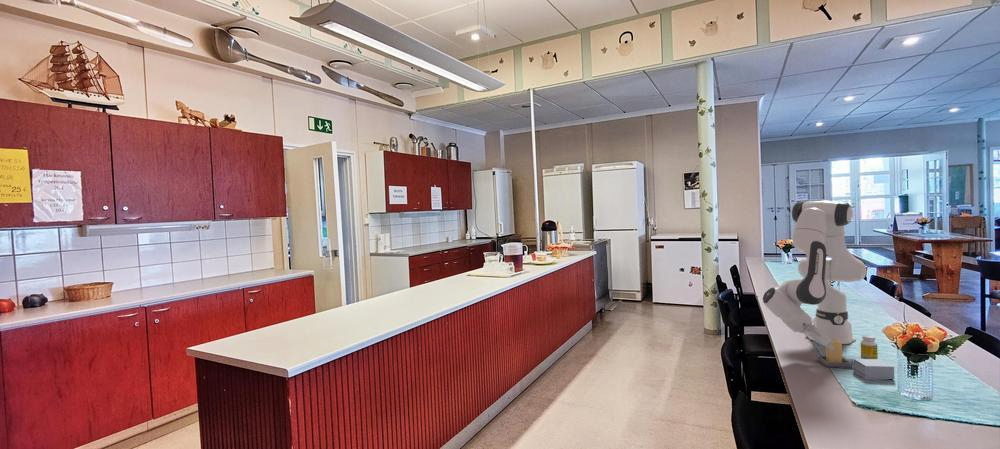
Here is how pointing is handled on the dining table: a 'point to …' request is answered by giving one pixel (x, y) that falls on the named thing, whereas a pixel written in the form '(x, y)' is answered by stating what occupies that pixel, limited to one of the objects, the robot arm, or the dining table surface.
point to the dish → (834, 363)
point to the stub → (834, 351)
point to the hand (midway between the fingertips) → (826, 345)
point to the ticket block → (873, 369)
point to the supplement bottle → (869, 347)
